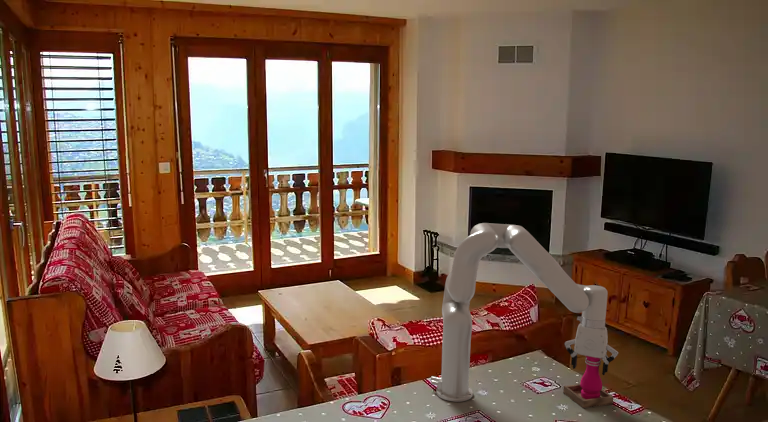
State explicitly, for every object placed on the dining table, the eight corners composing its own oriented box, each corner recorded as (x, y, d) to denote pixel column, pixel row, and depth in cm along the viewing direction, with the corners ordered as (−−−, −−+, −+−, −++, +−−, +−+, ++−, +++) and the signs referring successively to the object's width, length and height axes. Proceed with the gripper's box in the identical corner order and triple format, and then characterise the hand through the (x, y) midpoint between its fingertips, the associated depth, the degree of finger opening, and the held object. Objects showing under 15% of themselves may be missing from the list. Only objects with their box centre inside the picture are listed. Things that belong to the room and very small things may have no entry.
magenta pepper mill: (604, 402, 202) (609, 345, 199) (583, 401, 202) (587, 345, 199) (597, 392, 209) (601, 337, 206) (576, 391, 209) (580, 337, 206)
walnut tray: (583, 408, 198) (583, 401, 198) (563, 393, 209) (563, 386, 209) (612, 404, 202) (613, 397, 201) (591, 389, 212) (592, 382, 212)
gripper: (564, 320, 202) (560, 368, 205) (618, 330, 194) (614, 380, 197) (569, 314, 208) (565, 361, 211) (621, 323, 200) (617, 372, 203)
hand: (589, 370), depth 204 cm, fingers open, 9 cm apart
